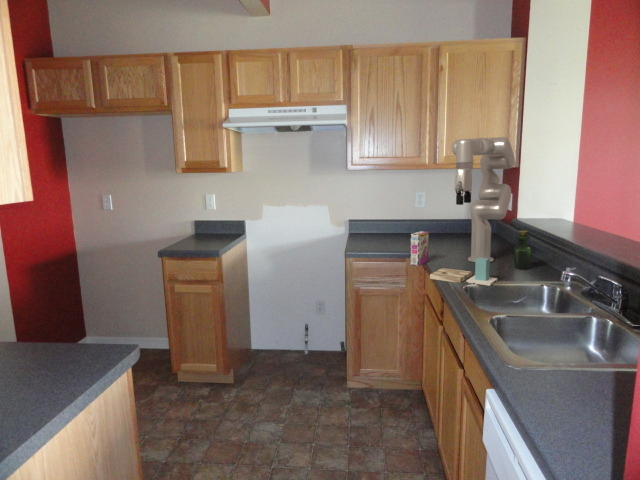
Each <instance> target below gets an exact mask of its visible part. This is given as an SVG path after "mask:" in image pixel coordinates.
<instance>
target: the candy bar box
mask: <svg viewBox="0 0 640 480" xmlns="http://www.w3.org/2000/svg"><path fill="white" fill-rule="evenodd" d="M429 233H430V232H429V231H424V230H423V231H417V232H414V233H410V258H409V259H410V263H409V265H410V266H415V267H420V266H421V265H422V266H423V265H424V264H427V263H428V262H429V237H430V236H429V235H430V234H429Z"/></svg>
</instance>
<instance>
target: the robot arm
mask: <svg viewBox="0 0 640 480" xmlns="http://www.w3.org/2000/svg"><path fill="white" fill-rule="evenodd" d="M451 151H452V154H453V155H454V156H455V170H456V171H455V175H454V176H455V177H454V192H455V197H456V198H455V204H456V205H458V206H462V205H463V206H464V203H466V204H470V206H469V207H470V208H469V212H470V219H471V237H470V238H471V241H470V242H471V245H470V250H471V251H470V256H468V258H467V261H469V262H471V263H476V259H477V258H479V257H480V258H490V263H491V262H493V261H494V257H491V249H492V248H491V247H492V246H491V245H492V243H491V241H492V226H491V223H490V222H489V221H488V220H503V219H504V218H505V217H506V215H507V212H508V209H509V205H510V201H511V197H512V188H511V186H510V185H509V184H506V183H500V181H501V180H500V177H499V175H498V173H496V172H495V171H494V170H508V169H512V168H513V167H514V166H515V164H516V163H515V162H516V159H515V154H514V150H513V147H512V144H511V141H510V140H509V139H508V138H507V137H505V136H500V137H475V138H460V139H455V140H454V141H453V142H452V145H451ZM474 156H477V157H478V156H481V157H480V159H479V165H480V169H481V170H480V171H481V174H482V181H481V183H480V186H479V190H478V193H477V197H478V200H474V201H472V188H473V187H472V186H473V174H472V170H474ZM471 202H472V203H471Z"/></svg>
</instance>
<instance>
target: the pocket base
mask: <svg viewBox="0 0 640 480" xmlns="http://www.w3.org/2000/svg"><path fill="white" fill-rule="evenodd" d="M472 275H473V273H472V271H468V270H461V269H455V268H454V269H451V268H443V267H441V268H439V269H437V270H436V271H434V272H432V273H430V274H429V279H430V280H437V281H444V282H449V283H450V282H451V283H457V282H459V283H458V284H461V283H463V282H464V281H467V280H468V279H469V278H471V277H473V276H472ZM462 281H463V282H462Z"/></svg>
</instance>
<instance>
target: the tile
mask: <svg viewBox="0 0 640 480" xmlns="http://www.w3.org/2000/svg"><path fill="white" fill-rule="evenodd" d="M465 281H466V282H468V283H467V284H473V283H475V285H481V286H489V287H490V286H492V285H493V284H494V282H495V281H496V282H497V281H498V278H497V277H491V276H489V279H488V280H486V281H481V280H475V274H474V275H473V276H471V277H469V278H467V279H466V280H465ZM496 282H495V283H496Z"/></svg>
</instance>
